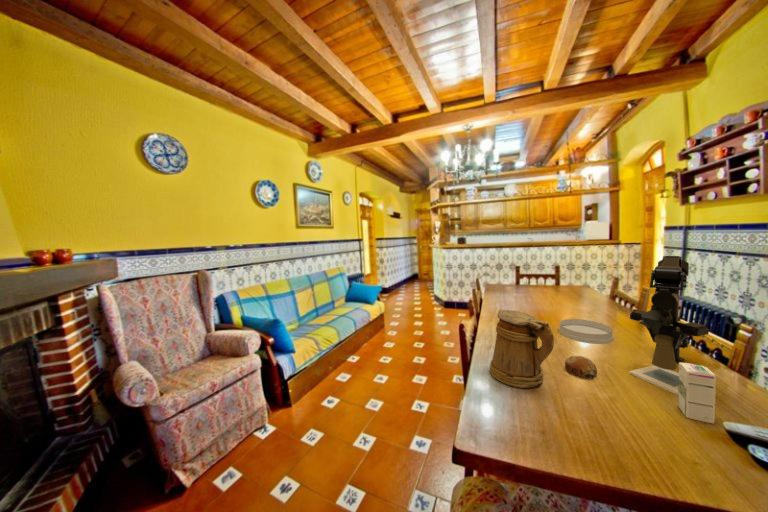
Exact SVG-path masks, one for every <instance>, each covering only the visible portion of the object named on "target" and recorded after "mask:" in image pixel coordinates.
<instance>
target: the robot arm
mask: <svg viewBox="0 0 768 512" xmlns="http://www.w3.org/2000/svg"><path fill="white" fill-rule="evenodd" d="M689 271H690V264H689V262H688V261H686V260H684V259H683V256H679V255H663V256H662V259H661V260H660V261H658V262H657V265H656V266H655V267H654V270H653V269H652V270H651V273H650V281H649V282H650V283H649V288H653V289H654V292H653V295H652V296H651V298H650V299H651V300H650V302H651V304H652V305H651V307H650V310H648V311H645V310H636V311H632V312H630V313H629V319H630V320H632V321H635V322H636V321H637V322H639V324H641V325H643V326H644V327H646V329H647V331H648V333H649V335H650V337H651V338H650V339H652V342H653V343H655V341H654V338H655V336H656V335H666V336H670V337H672V338H673V349H674V356H675V362H676V363H679V362H681V361H685V358H683V357H680V356H681V355H680V352H681V351H680V350H681V348H682V349H685V348H688V344H689V343H688V342H689V337H688V336H690V337H691V336H692V337H702V336H706V335H709V332H710V330H709V328H708V327H707V325H705V324H701V323H696V322H692V321H691V322H687V323H686V322H685V323H683V322H681V317H679V311H680V310H682V306H680V305H679V303H680V291H683V290H684V288H685V289H686V288H687V279H688V276H689V273H690V272H689Z"/></svg>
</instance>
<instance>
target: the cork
mask: <svg viewBox="0 0 768 512" xmlns="http://www.w3.org/2000/svg"><path fill="white" fill-rule="evenodd" d="M654 341H655V342H654V343H655V348H654V352H653V356H652V361H651V364H652V366H653V365H655V366H657V367H659V368H663V369H667V370H671V371H675V370H677V362H675V356H674V349H673V338H672V337H670V336H666V335H656V336H655V338H654Z"/></svg>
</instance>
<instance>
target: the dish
mask: <svg viewBox="0 0 768 512" xmlns="http://www.w3.org/2000/svg"><path fill="white" fill-rule="evenodd" d="M558 327H559V328H558V332H559V334H560V335H561V336H563V337H564V338H567V339H569V340H573V341H576V342H580V343H585V344H594V345H604V344H609V343H613V340H614V335H613V333H614V332H613V328H611V327H610V326H608V325H607V324H604V323H602V322H597V321H593V320H589V319H581V318H568V319H562V320H560V321H559V326H558Z"/></svg>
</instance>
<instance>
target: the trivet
mask: <svg viewBox="0 0 768 512" xmlns="http://www.w3.org/2000/svg"><path fill="white" fill-rule="evenodd" d="M628 372H629V375H631V376H633V377H635V378H638V379H640V380H642V381H645V382H646V383H647V382H648V383H650V384H652V385H654V386H656V387H658V388H660V389H662V390H666V391H667V392H669V393H672V394H674V395H677V396H678V381H679V372H677V371H675V370H667V369H663V368H659V367H657V366H655V365H653V364H652V365H650V366H645V367H641V368H637V369H633V370H630V371H628Z"/></svg>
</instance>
